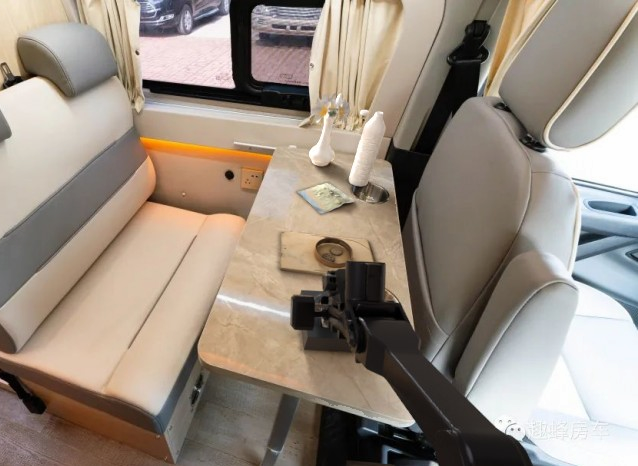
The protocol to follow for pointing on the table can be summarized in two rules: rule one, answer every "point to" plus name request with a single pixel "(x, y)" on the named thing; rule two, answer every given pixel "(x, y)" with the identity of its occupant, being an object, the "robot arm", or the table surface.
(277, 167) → the table surface
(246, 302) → the table surface
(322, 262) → the board
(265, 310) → the table surface
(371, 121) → the water bottle
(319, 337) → the jug base
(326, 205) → the topographic map
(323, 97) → the flower vase
